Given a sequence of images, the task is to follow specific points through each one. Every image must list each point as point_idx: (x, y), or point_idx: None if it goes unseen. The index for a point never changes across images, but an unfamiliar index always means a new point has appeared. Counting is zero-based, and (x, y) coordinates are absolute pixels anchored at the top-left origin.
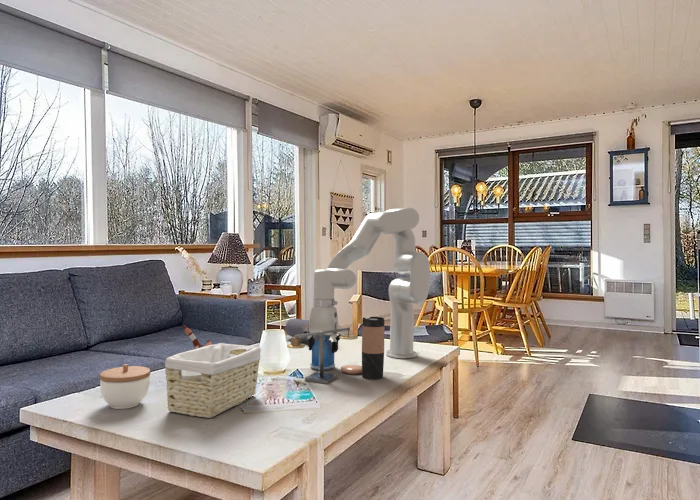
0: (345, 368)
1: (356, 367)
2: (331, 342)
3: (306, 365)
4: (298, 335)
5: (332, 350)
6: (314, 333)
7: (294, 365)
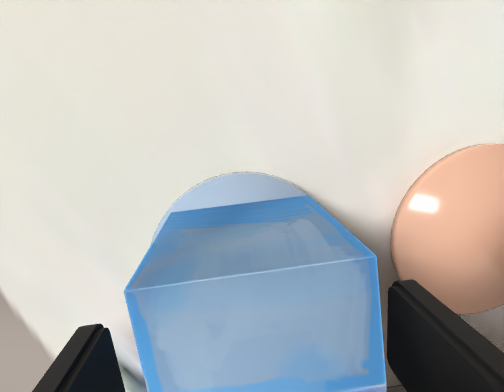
0: (438, 273)
1: (500, 211)
2: (382, 348)
3: (107, 265)
4: None
5: (409, 384)
6: None
7: (35, 310)
